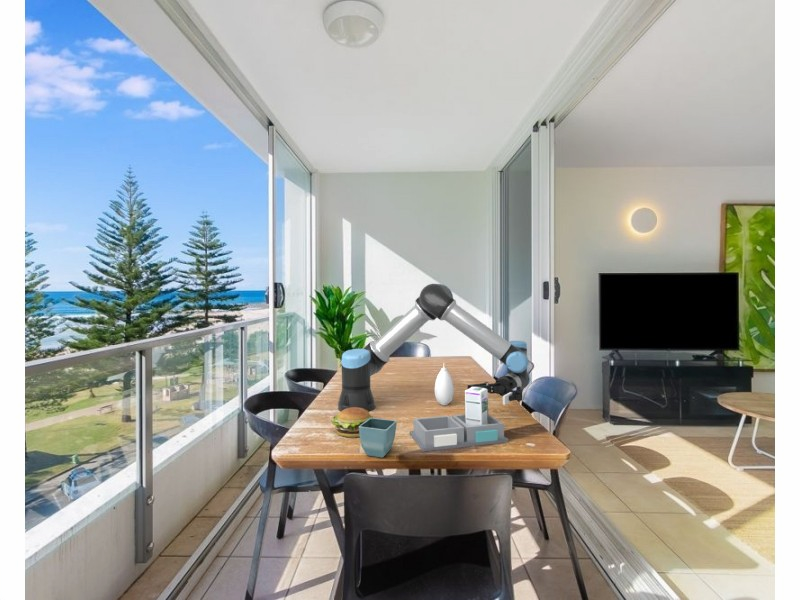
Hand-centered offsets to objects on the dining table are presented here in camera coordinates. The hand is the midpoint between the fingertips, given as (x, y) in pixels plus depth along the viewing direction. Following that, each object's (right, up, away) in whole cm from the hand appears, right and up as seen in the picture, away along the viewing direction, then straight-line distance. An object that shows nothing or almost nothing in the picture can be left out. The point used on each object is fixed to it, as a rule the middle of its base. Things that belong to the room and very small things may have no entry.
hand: (484, 397), depth 132 cm
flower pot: (-35, -13, -17) cm, 40 cm away
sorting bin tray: (-10, -12, -5) cm, 16 cm away
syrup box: (-3, -11, -3) cm, 12 cm away
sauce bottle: (-10, -11, +33) cm, 36 cm away
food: (-44, -12, +1) cm, 46 cm away
